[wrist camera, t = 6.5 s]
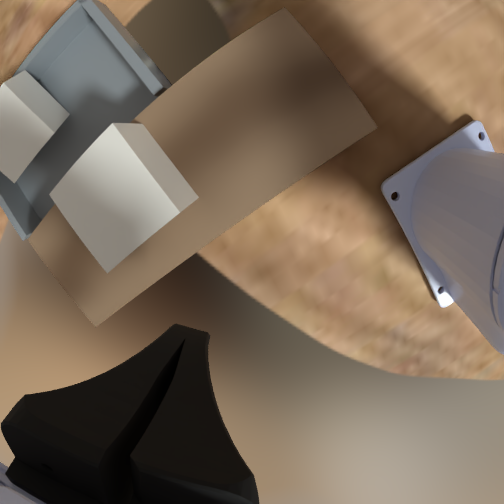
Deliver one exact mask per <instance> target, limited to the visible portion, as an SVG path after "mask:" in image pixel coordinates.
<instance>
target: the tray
mask: <svg viewBox="0 0 504 504" xmlns="http://www.w3.org/2000/svg"><path fill="white" fill-rule="evenodd" d="M24 70H26V71H27V72H28V73H29V74H30V75H31V76H32V77H33V78H34V79H35V80H36V81H37V82H38V83H39V84H40V85H41V86H42V87H43V88H44V89H45V90H46V91H47V92H48V93H49V94H50V95H51V96H52V97H53V98H54V99H55V100H56V101H57V102H58V103H59V104H60V105H61V106H62V107H63V108H64V109H65V110H66V111H67V112H68V113H69V114H70V115H69V116H68V117H67V118H66V120H65V121H64V122H63V123H62V124H61V126H60V127H59V128H58V129H57V131H56V132H55V133H54V134H53V135H52V136H51V138H50V139H49V140H48V141H47V142H46V144H45V145H44V146H43V147H42V148H41V150H40V151H39V152H38V153H37V155H36V156H35V157H34V158H33V160H32V161H31V162H30V163H29V165H28V166H27V167H26V169H25V170H24V171H23V173H22V174H21V175H20V177H19V178H18V179H17V181H16V182H15V184H14V183H13V182H12V181H11V180H10V179H9V178H8V177H6V176H5V175H4V174H3V173H2V172H1V171H0V205H1V207H2V209H3V210H4V212H5V214H6V215H7V217H8V219H9V220H10V222H11V223H12V225H13V226H14V228H15V230H16V231H17V233H18V234H19V236H20V237H21V239H22V240H23V241H24V240H25V239H27V238H29V237H30V236H31V234H32V233H33V231H34V230H35V229H36V227H37V226H38V225H39V223H40V222H41V221H42V219H43V218H44V217H45V216H46V214H47V213H48V212H49V210H50V209H51V208H52V207H53V205H54V204H55V203H54V201H53V200H52V198H51V197H50V195H49V194H50V193H51V191H52V190H53V189H54V188H55V186H56V185H57V184H58V183H59V181H60V180H61V179H62V178H63V177H64V175H65V174H66V173H67V172H68V171H69V169H70V168H71V167H72V166H73V165H74V164H75V163H76V161H77V160H78V159H79V158H80V157H81V156H82V155H83V153H84V152H85V151H86V150H87V149H88V148H89V147H90V146H91V145H92V144H93V143H94V141H95V140H96V139H97V138H98V137H99V136H100V135H101V134H102V133H103V132H104V131H105V130H106V129H107V128H108V127H109V126H110V125H111V124H112V123H130V122H131V121H132V120H133V119H134V118H136V117H137V116H138V115H139V114H140V113H141V112H142V111H143V110H144V109H145V108H146V107H148V106H149V105H150V104H151V103H152V102H153V101H154V100H155V99H157V98H158V97H159V96H160V95H161V94H162V93H164V92H165V91H166V90H167V89H168V88H170V87H171V86H172V84H171V83H170V82H169V80H168V79H167V78H166V77H165V75H164V74H163V73H162V72H161V71H160V69H159V68H158V67H157V66H156V64H155V63H154V62H153V61H152V60H151V58H150V57H149V56H148V55H147V54H146V52H145V51H144V50H143V49H142V48H141V46H140V45H139V44H138V43H137V42H136V40H135V39H134V38H133V37H132V36H131V34H130V33H129V32H128V31H127V30H126V28H125V27H124V26H123V25H122V24H121V23H120V21H119V20H118V19H117V18H116V17H115V16H114V14H113V13H112V12H111V11H110V10H109V9H108V8H107V6H106V5H105V4H103V3H101V2H100V1H98V0H77V1H76V2H75V3H74V4H73V5H72V6H71V7H70V8H69V9H68V10H67V11H66V12H65V13H64V14H63V15H62V16H61V17H60V19H59V20H58V21H57V22H56V23H55V24H54V25H53V26H52V27H51V28H50V30H49V31H48V32H47V33H46V34H45V35H44V37H43V38H42V39H41V40H40V41H39V43H38V44H37V45H36V46H35V47H34V49H33V50H32V51H31V52H30V54H29V55H28V56H27V58H26V59H25V60H24V61H23V63H22V64H21V65H20V67H19V68H18V70H17V71H16V72H15V74H14V75H13V77H14V76H15V75H17V74H19V73H21V72H22V71H24Z"/></svg>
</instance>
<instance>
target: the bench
mask: <svg viewBox="0 0 504 504" xmlns="http://www.w3.org/2000/svg"><path fill="white" fill-rule="evenodd" d="M130 123H134V124H143V125H144V126H145V128H146V129H147V130H148V132H149V133H150V134H151V136H152V137H153V138H154V139H155V141H156V142H157V143H158V145H159V146H160V147H161V149H162V150H163V151H164V153H165V154H166V155H167V157H168V158H169V159H170V160H171V162H172V163H173V164H174V166H175V167H176V168H177V170H178V171H179V172H180V174H181V175H182V176H183V177H184V179H185V180H186V181H187V183H188V184H189V185H190V187H191V188H192V189H193V190H194V192H195V193H196V194H197V196H198V197H199V198H198V199H197V200H195V201H194V202H193V203H192V204H190V205H189V206H188V207H187V208H185V209H184V210H183V211H182V212H180V213H179V214H178V215H177V216H175V217H174V218H173V219H172V220H170V221H169V222H168V223H167V224H165V225H164V226H163V227H162V228H160V229H159V230H158V231H157V232H156V233H154V234H153V235H152V236H151V237H149V238H148V239H147V240H146V241H145V242H143V243H142V244H141V245H140V246H139V247H137V248H136V249H135V250H134V251H133V252H132V253H130V254H129V255H128V256H127V257H126V258H125V259H123V260H122V261H121V262H120V263H119V264H118V265H116V266H115V267H114V268H113V269H112V270H111V271H110V272H108V273H106V271H105V270H104V269H103V268H102V266H101V265H100V264H99V263H98V261H97V260H96V259H95V257H94V256H93V255H92V254H91V252H90V251H89V250H88V248H87V247H86V246H85V244H84V243H83V242H82V240H81V239H80V238H79V236H78V235H77V234H76V232H75V231H74V230H73V228H72V227H71V225H70V224H69V223H68V221H67V220H66V218H65V217H64V216H63V214H62V213H61V211H60V210H59V208H58V207H57V205H56V204H54V205H53V207H52V208H51V209H50V210H49V212H48V213H47V214H46V216H45V217H44V218H43V219H42V221H41V222H40V223H39V225H38V226H37V227H36V229H35V230H34V231H33V233H32V234H31V236H30V237H29V238H28V241H29V242H30V244H31V245H32V246H33V248H34V249H35V251H36V252H37V254H38V255H39V256H40V258H41V259H42V261H43V262H44V263H45V265H46V266H47V268H48V269H49V270H50V272H51V273H52V274H53V276H54V277H55V278H56V280H57V281H58V282H59V284H60V285H61V286H62V287H63V289H64V290H65V291H66V292H67V293H68V295H69V296H70V297H71V299H72V300H73V301H74V302H75V304H76V305H77V306H78V307H79V308H80V310H81V311H82V312H83V313H84V314H85V315H86V317H87V318H88V319H89V320H90V321H91V322H92V324H93V325H94V326H95V327H97V326H98V325H99V324H100V323H102V322H103V321H104V320H106V319H107V318H108V317H110V316H111V315H112V314H114V313H115V312H116V311H118V310H119V309H120V308H122V307H123V306H124V305H125V304H127V303H128V302H129V301H131V300H132V299H133V298H135V297H136V296H137V295H139V294H140V293H141V292H143V291H144V290H145V289H147V288H148V287H149V286H151V285H152V284H153V283H155V282H156V281H157V280H159V279H160V278H162V277H163V276H164V275H165V274H167V273H168V272H170V271H171V270H172V269H174V268H175V267H176V266H178V265H179V264H181V263H182V262H183V261H185V260H186V259H188V258H189V257H190V256H192V255H193V254H194V253H196V252H197V251H199V250H200V249H201V248H203V247H204V246H206V245H207V244H208V243H210V242H211V241H213V240H214V239H215V238H217V237H218V236H220V235H221V234H222V233H224V232H225V231H227V230H228V229H229V228H231V227H232V226H234V225H235V224H236V223H238V222H239V221H241V220H242V219H244V218H245V217H246V216H248V215H249V214H251V213H252V212H253V211H255V210H256V209H258V208H259V207H261V206H262V205H264V204H265V203H266V202H268V201H269V200H271V199H272V198H274V197H275V196H277V195H278V194H279V193H281V192H282V191H284V190H285V189H287V188H288V187H290V186H291V185H293V184H294V183H295V182H297V181H298V180H300V179H301V178H303V177H304V176H306V175H307V174H309V173H310V172H312V171H313V170H315V169H316V168H318V167H319V166H321V165H322V164H324V163H325V162H327V161H328V160H330V159H331V158H333V157H334V156H336V155H337V154H339V153H340V152H342V151H343V150H345V149H346V148H348V147H349V146H351V145H352V144H354V143H355V142H357V141H358V140H360V139H361V138H363V137H364V136H366V135H367V134H369V133H370V132H372V131H374V130H375V129H377V128H378V127H377V126H376V124H375V122H374V121H373V119H372V118H371V116H370V115H369V113H368V112H367V110H366V109H365V107H364V106H363V104H362V103H361V102H360V100H359V99H358V97H357V96H356V94H355V93H354V92H353V90H352V89H351V87H350V86H349V85H348V83H347V82H346V80H345V79H344V78H343V76H342V75H341V74H340V72H339V71H338V70H337V68H336V67H335V66H334V65H333V63H332V62H331V61H330V59H329V58H328V57H327V56H326V54H325V53H324V52H323V51H322V49H321V48H320V47H319V46H318V45H317V43H316V42H315V41H314V40H313V39H312V37H311V36H310V35H309V34H308V33H307V32H306V30H305V29H304V28H303V27H302V26H301V25H300V24H299V22H298V21H297V20H296V19H295V18H294V17H293V16H292V15H291V14H290V13H289V11H288V10H287V9H286V8H285V7H284V8H282V9H281V10H279V11H277V12H276V13H274V14H272V15H271V16H269V17H267V18H266V19H264V20H262V21H261V22H259V23H257V24H256V25H254V26H253V27H251V28H250V29H248V30H247V31H245V32H243V33H242V34H240V35H239V36H237V37H236V38H235V39H233V40H232V41H230V42H229V43H227V44H226V45H224V46H223V47H222V48H220V49H219V50H217V51H216V52H215V53H213V54H212V55H210V56H209V57H208V58H206V59H205V60H204V61H202V62H201V63H200V64H198V65H197V66H196V67H194V68H193V69H192V70H191V71H189V72H188V73H187V74H186V75H184V76H183V77H182V78H181V79H179V80H178V81H177V82H176V83H174V84H173V85H172V86H171V87H170V88H168V89H167V90H166V91H165V92H164V93H162V94H161V95H160V96H159V97H158V98H157V99H155V100H154V101H153V102H152V103H151V104H150V105H149V106H148V107H146V108H145V109H144V110H143V111H142V112H141V113H140V114H139V115H138V116H137V117H136V118H134V119H133V120H132V121H131V122H130Z"/></svg>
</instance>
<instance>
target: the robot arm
mask: <svg viewBox="0 0 504 504" xmlns="http://www.w3.org/2000/svg"><path fill="white" fill-rule="evenodd" d="M479 133H481V139H479V137H478V135H479ZM381 191H382V193H383V195H384V197H385V199H386V200H387V202H388V204H389V206H390V207H391V209H392V211H393V213H394V215H395V216H396V218H397V220H398V222H399V224H400V226H401V228H402V229H403V231H404V233H405V235H406V237H407V239H408V241H409V243H410V245H411V247H412V249H413V251H414V253H415V255H416V257H417V259H418V261H419V263H420V265H421V267H422V269H423V271H424V274H425V276H426V278H427V280H428V282H429V284H430V287H431V289H432V291H433V293H434V296H435V298H436V300H437V303H438V304H439V305H440V307H447V306H448V305H450V304H451V303H453V302H454V301H455V302H456V304H457V305H458V306H459V307H460V308H461V309H462V310H463V312H464V313H465V314H466V315H467V316H468V317H469V319H470V320H471V321H472V322H473V323H474V324H475V326H476V327H477V328H478V329H479V331H480V332H481V333H482V334H483V335H484V337H485V338H486V339H487V340H488V342H489V343H490V344H491V345H492V346H493V347H494V348H495V349H496V350H497V351H498V352H500V353H501V354H503V355H504V154H501V153H496V152H494V149H493V147H492V144H491V142H490V140H489V138H488V135H487V133H486V131H485V129H484V127H483V125H482V123H481V122H480V121H477V120H473V121H471V122H470V123H468V124H467V125H465V126H464V127H462V128H461V129H459V130H458V131H457V132H455V133H454V134H452V135H451V136H449V137H448V138H446V139H445V140H443V141H442V142H441V143H439V144H438V145H436V146H435V147H433V148H432V149H430V150H429V151H427V152H426V153H424V154H423V155H421V156H420V157H418V158H417V159H416V160H414V161H413V162H411V163H410V164H408V165H407V166H405V167H404V168H402V169H401V170H399V171H398V172H396V173H395V174H393V175H392V176H390V177H389V178H387V179H386V180H385V181H384V182H383V183H382V185H381ZM393 192H397V198H396V199H395V200H392V199H391V195H392V193H393ZM441 286H442V289H441V290H440V291H438V289H439V287H441ZM209 339H210V335H209V334H208V332H204V331H200V330H196V329H193V328H189V327H186V326H182V325H178V324H174V325H172V326H171V327H170V328H169V329H168V330H167V331H166V332H165V333H163V334H162V335H161V336H160V337H159V338H157V339H156V340H155V341H154V342H153V343H151V344H150V345H148V346H147V347H146V348H144V349H143V350H142V351H141V352H139V353H137V354H136V355H134V356H133V357H131V358H130V359H128V360H127V361H125V362H123V363H122V364H120V365H118V366H116V367H114V368H113V369H111V370H109V371H107V372H105V373H103V374H100V375H98V376H96V377H93V378H91V379H89V380H87V381H84V382H81V383H78V384H75V385H72V386H68V387H65V388H61V389H57V390H52V391H47V392H41V393H35V394H27V395H24V397H22V398H21V399H20V401H18V402H17V404H16V405H15V406H14V407H13V408H12V410H11V411H10V412H9V414H8V415H7V416H6V418H5V419H4V420H3V422H2V423H1V430H2V433H3V435H4V437H5V440H6V441H7V443H8V445H9V447H10V449H11V450H12V452H13V454H14V455H15V458H14V460H13V462H12V463H11V465H10V466H9V468H8V467H7V466H5V465H4V464H2V463H1V462H0V504H259V497H258V491H257V486H256V482H255V478H254V475H253V473H252V472H251V470H250V469H249V468H248V466H247V465H246V463H245V462H244V460H243V459H242V457H241V456H240V454H239V452H238V450H237V449H236V447H235V445H234V443H233V441H232V439H231V437H230V435H229V433H228V431H227V429H226V427H225V424H224V422H223V420H222V417H221V415H220V412H219V409H218V406H217V403H216V399H215V396H214V392H213V387H212V383H211V378H210V371H209V362H208V344H209Z"/></svg>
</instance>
